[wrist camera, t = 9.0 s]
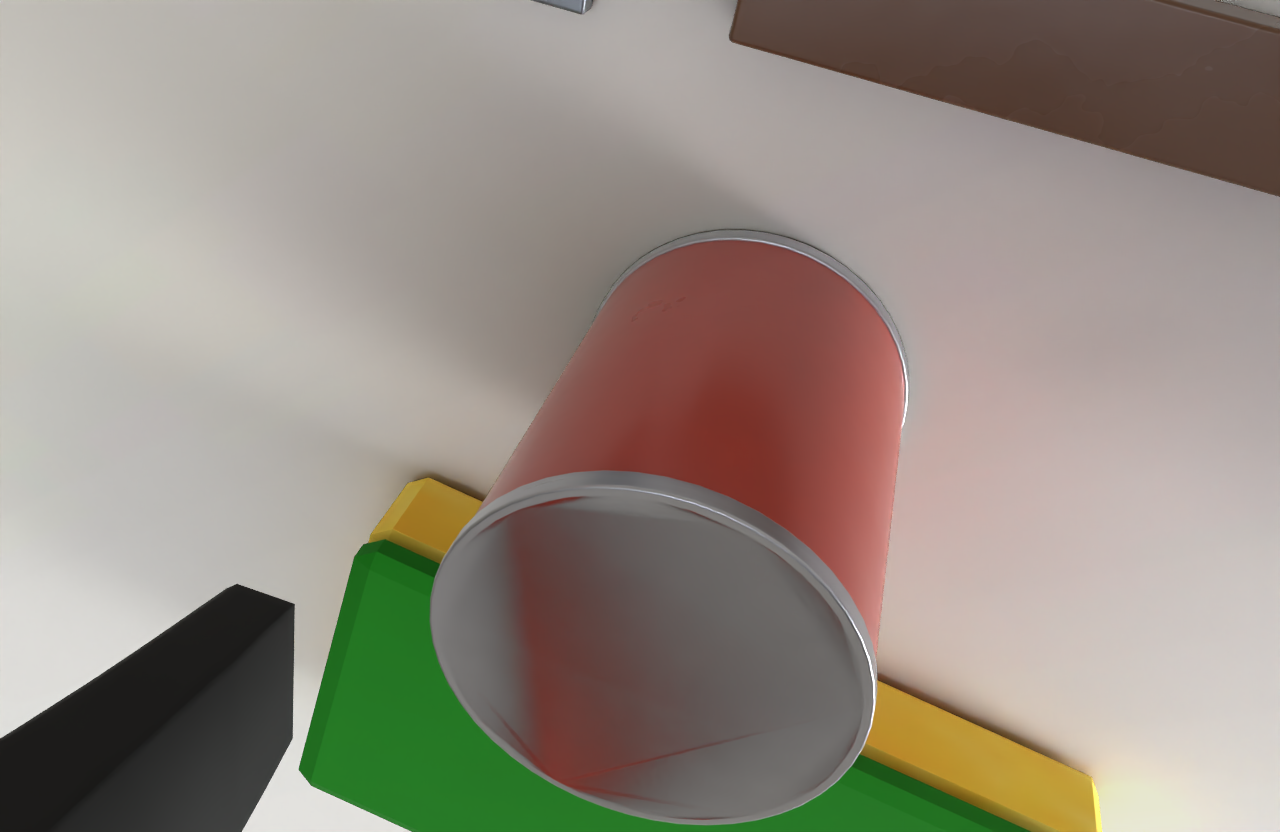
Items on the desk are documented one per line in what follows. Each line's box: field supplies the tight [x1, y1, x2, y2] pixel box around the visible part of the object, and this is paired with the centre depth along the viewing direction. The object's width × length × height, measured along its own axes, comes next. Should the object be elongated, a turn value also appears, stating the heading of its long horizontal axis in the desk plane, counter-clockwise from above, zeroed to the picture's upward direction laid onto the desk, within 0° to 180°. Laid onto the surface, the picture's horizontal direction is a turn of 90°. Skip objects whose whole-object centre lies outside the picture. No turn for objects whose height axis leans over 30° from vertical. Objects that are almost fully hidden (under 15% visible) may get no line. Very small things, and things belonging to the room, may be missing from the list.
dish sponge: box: [299, 477, 1102, 832], centre depth 21 cm, size 7×14×2 cm, turn 70°
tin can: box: [430, 230, 909, 825], centre depth 15 cm, size 5×5×6 cm
